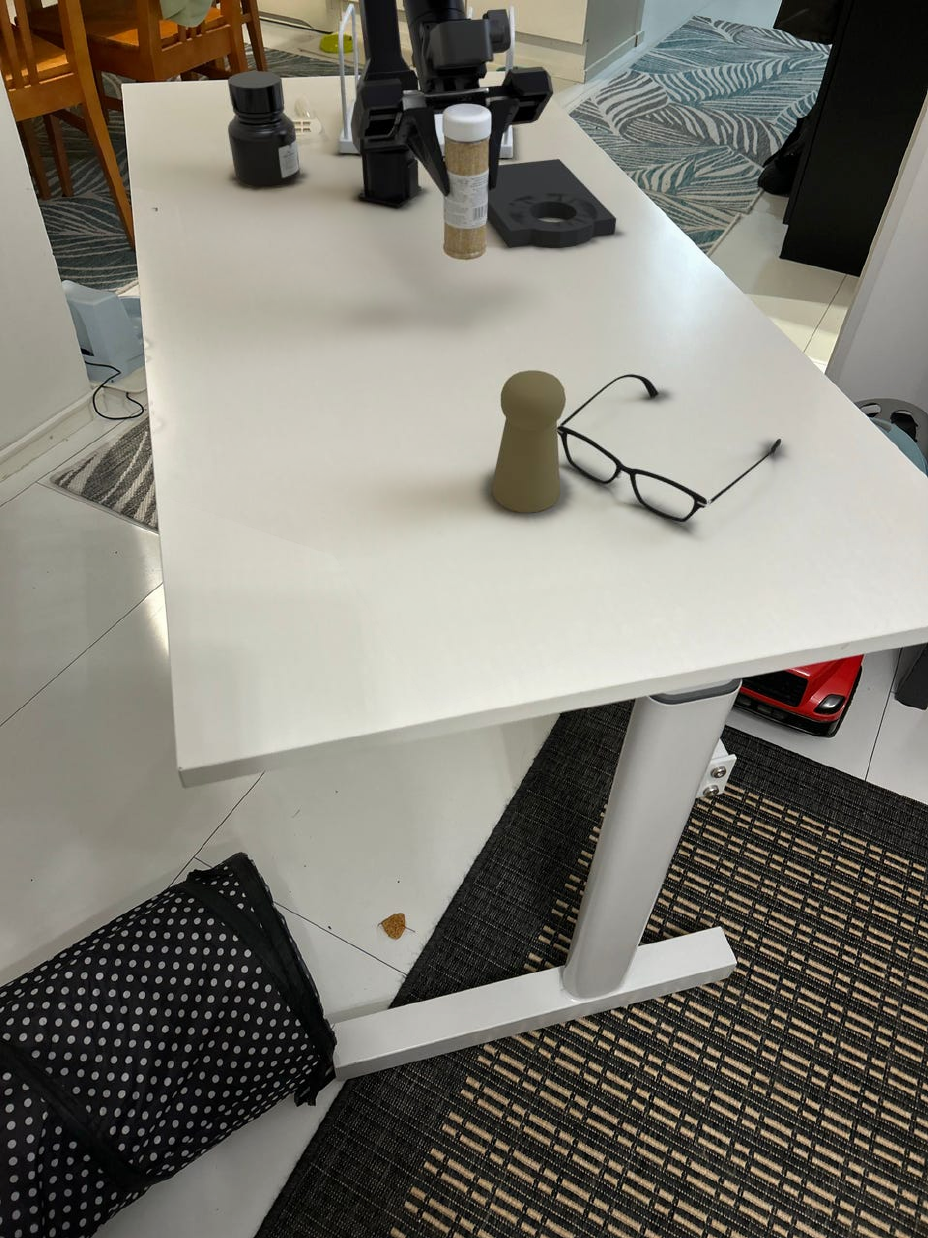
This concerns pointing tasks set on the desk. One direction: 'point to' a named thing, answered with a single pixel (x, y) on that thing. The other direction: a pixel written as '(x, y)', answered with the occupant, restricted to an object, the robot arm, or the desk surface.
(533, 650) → the desk surface
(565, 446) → the eyeglasses
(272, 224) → the desk surface
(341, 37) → the file sorter
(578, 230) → the pad
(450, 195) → the sprinkles bottle
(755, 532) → the desk surface
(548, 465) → the olive game pawn
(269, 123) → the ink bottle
